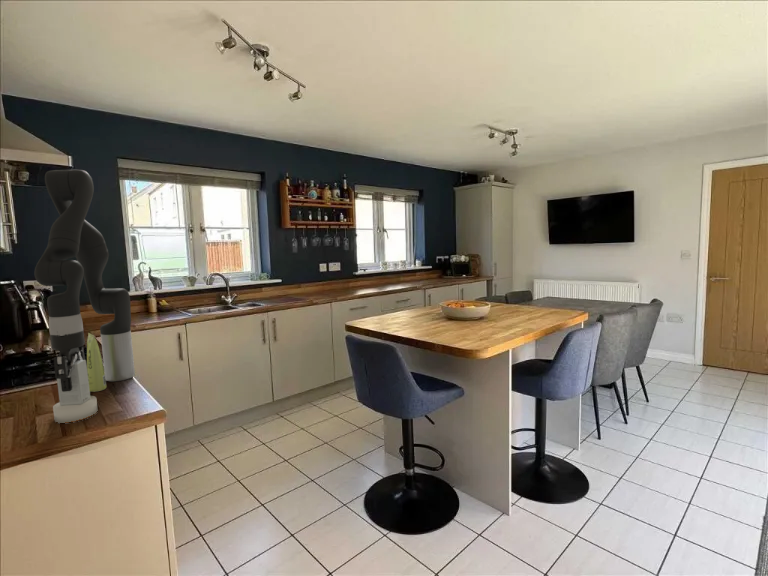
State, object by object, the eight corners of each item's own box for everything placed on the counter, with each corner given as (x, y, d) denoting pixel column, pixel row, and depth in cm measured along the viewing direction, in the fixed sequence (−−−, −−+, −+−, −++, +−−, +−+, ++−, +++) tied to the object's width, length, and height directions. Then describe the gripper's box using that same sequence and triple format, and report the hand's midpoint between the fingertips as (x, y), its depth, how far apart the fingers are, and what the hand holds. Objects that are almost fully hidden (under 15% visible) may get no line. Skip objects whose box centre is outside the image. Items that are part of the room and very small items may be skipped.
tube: (83, 392, 134) (76, 335, 131) (94, 386, 139) (88, 332, 136) (100, 392, 134) (94, 335, 131) (110, 386, 139) (104, 331, 136)
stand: (63, 411, 119) (61, 398, 119) (102, 406, 122) (101, 393, 122) (48, 426, 110) (46, 412, 109) (91, 420, 113) (89, 406, 113)
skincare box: (91, 398, 118) (86, 359, 117) (82, 404, 114) (77, 364, 112) (69, 399, 118) (64, 360, 116) (59, 405, 113) (54, 365, 112)
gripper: (61, 326, 118) (67, 379, 120) (38, 337, 105) (46, 396, 107) (91, 324, 121) (96, 376, 123) (72, 335, 107) (79, 392, 110)
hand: (73, 385), depth 115 cm, fingers open, 8 cm apart
